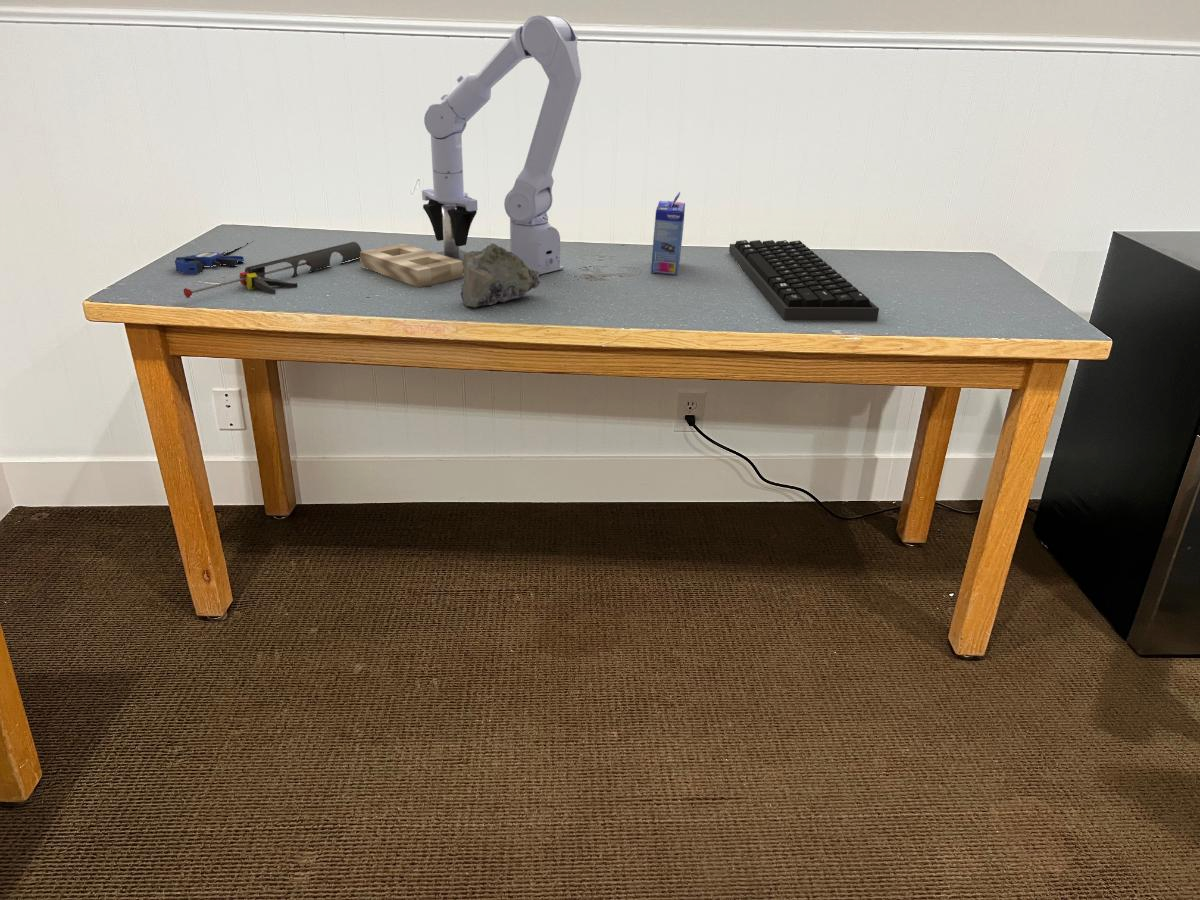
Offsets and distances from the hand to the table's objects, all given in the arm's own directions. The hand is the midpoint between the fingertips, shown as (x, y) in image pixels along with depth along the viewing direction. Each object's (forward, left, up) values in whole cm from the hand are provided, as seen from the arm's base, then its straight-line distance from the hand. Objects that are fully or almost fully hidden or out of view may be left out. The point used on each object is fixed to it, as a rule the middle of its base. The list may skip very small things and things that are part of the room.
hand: (451, 242), depth 171 cm
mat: (0, 0, -3) cm, 3 cm away
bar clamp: (+32, +29, -4) cm, 43 cm away
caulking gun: (+7, +32, -4) cm, 33 cm away
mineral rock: (-28, +12, -3) cm, 31 cm away
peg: (0, 0, -3) cm, 3 cm away
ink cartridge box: (-33, -27, -3) cm, 43 cm away
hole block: (-3, +12, -3) cm, 13 cm away
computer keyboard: (-56, -37, -4) cm, 67 cm away
